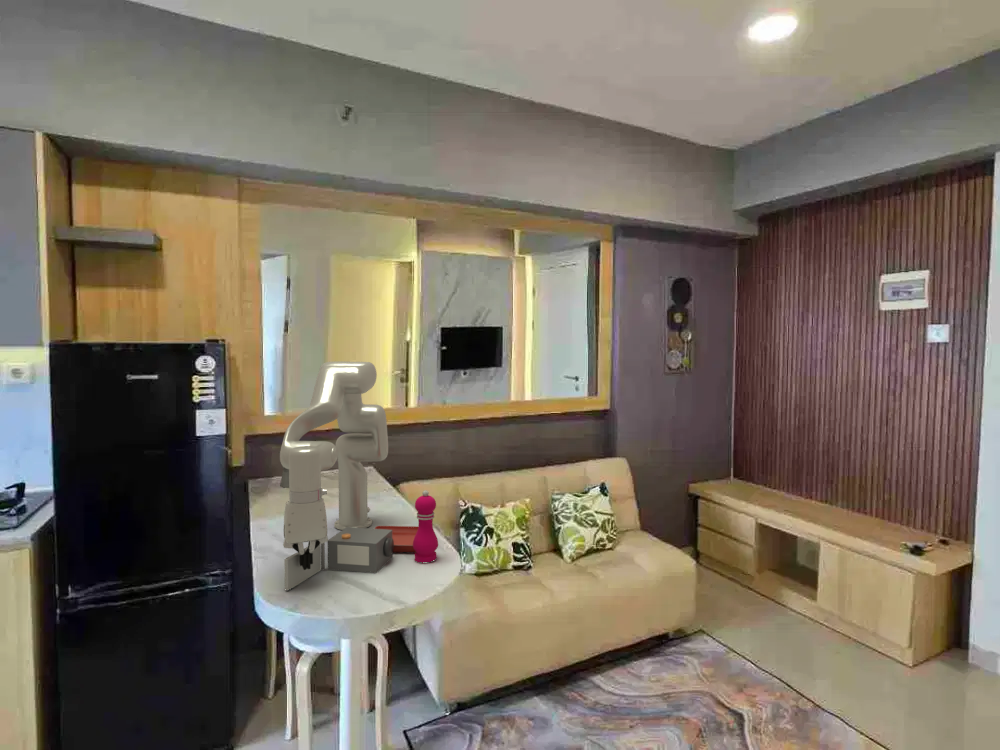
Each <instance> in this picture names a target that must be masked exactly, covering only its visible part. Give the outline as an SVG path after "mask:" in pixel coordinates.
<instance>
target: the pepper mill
mask: <svg viewBox="0 0 1000 750" xmlns="http://www.w3.org/2000/svg"><path fill="white" fill-rule="evenodd" d="M429 494H430V493H429V490H423V491H422V495H421V496H418V498H416V500H415V503H414V507H415V510H416V511H417V513H416V519H418V526H417V527H418V530H417V533H416V535H415V537H414V541H413V548H414V550H415V551H416V553H414V561H415V562H416V561H417V563H418V562H422V563H421V564H424V563H423V562H431V561H433V560H435V559H436V558H437V557H438V556H437V552H436V550H437V549H438V547H439V540H438V537H437V535H436V533H435V530H434V526H433V525H434V524H433V521H434V520H433V519H434V518H435V512H434V511H435V510H436V508H437V502H436V500H435V498H434V497H433V496H432V495H429ZM436 560H437V559H436ZM436 560H435V561H436ZM431 563H432V562H431Z"/></svg>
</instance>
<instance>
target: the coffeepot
mask: <svg viewBox="0 0 1000 750" xmlns="http://www.w3.org/2000/svg"><path fill="white" fill-rule="evenodd" d="M278 454H280V451H278ZM281 467H282V468H283V469H282V470H283V471H282V473H281V478H280V487H281V488H284V489H285V488H286V489H289V469H286V468H284V467H283V466H282V465H281Z"/></svg>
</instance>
